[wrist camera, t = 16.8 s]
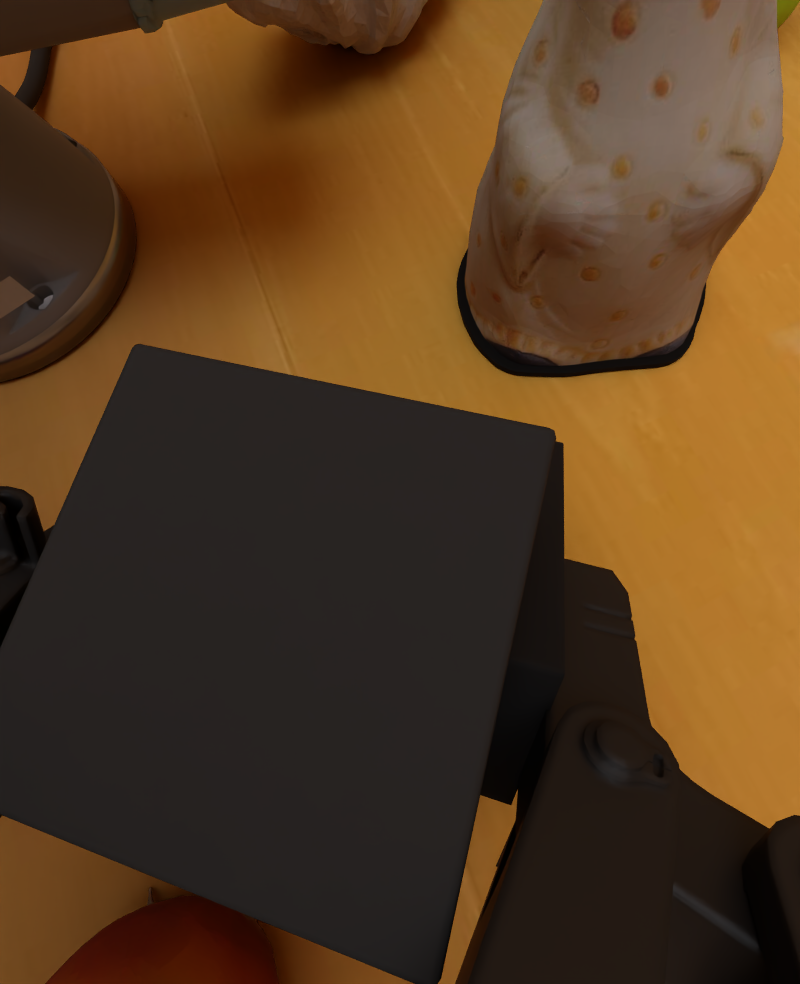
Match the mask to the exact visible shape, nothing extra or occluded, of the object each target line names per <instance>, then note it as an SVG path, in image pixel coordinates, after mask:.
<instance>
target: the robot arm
mask: <svg viewBox="0 0 800 984" xmlns="http://www.w3.org/2000/svg"><path fill="white" fill-rule="evenodd" d="M230 1H233V0H0V56H5V55H10V54H15V53H20V52H25V51H29V50H31V55H30V60H29V65H28V69H27V73H26V76H25V79H24V81H23V83H22V85H21V87H20V89H19V90H18V92H17V93H16V95H15V96H14V95H13V94H11V93H10V92H9V91H8V90H6V89H5V88H4V87H2V86H1V85H0V382H2V381H6V380H10V379H14V378H17V377H20V376H23V375H26V374H29V373H31V372H33V371H36V370H38V369H40V368H42V367H44V366H46V365H48V364H50V363H52V362H53V361H55V360H57V359H58V358H60V357H61V356H63V355H65V354H66V353H67V352H69V351H70V350H71V349H73V348H74V347H75V346H77V345H78V344H79V343H80V342H81V341H82V340H84V339H85V338H86V337H87V336H88V335H89V334H90V333H91V332H92V331H93V330H94V329H95V328H96V327H97V326H98V325H99V324H100V322H101V321H102V320H103V319H104V318H105V316H106V315H107V314H108V312H109V311H110V310H111V308H112V307H113V305H114V304H115V302H116V301H117V299H118V297H119V296H120V294H121V292H122V290H123V288H124V286H125V284H126V281H127V279H128V276H129V274H130V271H131V267H132V264H133V260H134V255H135V249H136V225H135V220H134V215H133V212H132V209H131V206H130V204H129V201H128V199H127V197H126V196H125V194H124V193H123V191H122V189H121V188H120V187H119V185H118V184H117V183H116V182H115V180H114V179H113V178H112V176H111V175H110V174H109V172H108V171H107V170H106V168H105V167H104V166H103V164H102V163H101V162H100V161H99V160H98V158H97V157H96V156H95V155H94V154H93V153H92V152H91V151H90V150H88V149H87V148H86V147H84V146H83V145H81V144H80V143H78V142H77V141H75V140H74V139H72V138H71V137H70V136H68V135H67V134H65V133H64V132H62V131H60V130H58V129H55V128H53V127H52V126H51V125H50V124H48V123H47V122H46V121H45V120H44V119H42V118H41V117H40V116H39V115H37V114H36V113H35V112H34V111H33V108H34V107H35V105H36V103H37V101H38V99H39V97H40V95H41V93H42V90H43V87H44V84H45V80H46V76H47V72H48V66H49V60H50V53H51V47H52V46H54V45H59V44H64V43H68V42H73V41H78V40H83V39H88V38H93V37H98V36H103V35H108V34H112V33H117V32H122V31H127V30H132V29H137V28H141V29H142V30H143V31H144V32H145V33H151V32H155V31H156V30H158V29H160V28H161V27H162V24H163V20H167V19H170V18H174V17H177V16H181V15H184V14H188V13H191V12H195V11H198V10H202V9H205V8H209V7H212V6H216V5H219V4H223V3H226V2H230ZM53 527H54V526H52V527H51V528H49V529H47V530H46V531H43V528H42V525H41V521H40V518H39V515H38V512H37V508H36V505H35V502H34V499H33V497H32V496H31V495H30V494H28V493H27V492H26V491H24V490H22V489H17V488H13V487H8V486H0V647H1V645H2V643H3V640H4V638H5V636H6V634H7V631H8V629H9V627H10V624H11V622H12V620H13V618H14V615H15V613H16V611H17V609H18V606H19V604H20V602H21V599H22V597H23V595H24V593H25V590H26V588H27V586H28V584H29V581H30V579H31V577H32V575H33V572H34V570H35V568H36V565H37V563H38V561H39V559H40V556H41V554H42V552H43V550H44V547H45V545H46V543H47V540H48V538H49V536H50V534H51V531H52V529H53ZM631 617H632V614H631V608H630V602H629V596H628V592H627V591H626V589H625V588H624V587H623V585H622V584H621V582H620V581H619V579H618V578H617V577H616V575H615V574H614V572H613V571H612V570H608V569H604V568H600V567H596V566H592V565H588V564H584V563H580V562H576V561H572V560H568V559H564V458H563V443H560V442H555V446H554V451H553V456H552V460H551V465H550V470H549V474H548V479H547V484H546V488H545V493H544V498H543V503H542V507H541V512H540V517H539V521H538V526H537V531H536V535H535V540H534V545H533V549H532V554H531V559H530V563H529V568H528V573H527V578H526V582H525V587H524V592H523V596H522V601H521V606H520V610H519V615H518V620H517V624H516V629H515V634H514V639H513V643H512V648H511V653H510V657H509V662H508V667H507V671H506V676H505V681H504V685H503V690H502V695H501V700H500V704H499V709H498V714H497V718H496V723H495V728H494V732H493V737H492V742H491V746H490V751H489V756H488V761H487V765H486V770H485V775H484V779H483V784H482V789H481V793H480V795H482V796H485V797H488V798H491V799H494V800H497V801H500V802H503V803H506V804H509V805H511V804H512V801H513V799H514V797H515V794H516V792H517V789H518V797H517V811H516V821H515V823H514V826H513V828H512V830H511V832H510V835H509V837H508V839H507V842H506V844H505V846H504V849H503V851H502V853H501V856H500V858H499V860H498V862H497V865H496V866H497V870H496V873H495V875H494V878H493V881H492V884H491V886H490V889H489V892H488V895H487V897H486V900H485V903H484V906H483V908H482V911H481V914H480V917H479V919H478V922H477V925H476V928H475V930H474V933H473V936H472V939H471V941H470V944H469V947H468V950H467V952H466V955H465V958H464V961H463V964H462V966H461V969H460V972H459V975H458V977H457V980H456V983H455V984H800V816H797V815H793V816H791V817H788V818H785V819H783V820H780V821H777V822H776V823H775V824H774V825H773V826H772V827H771V828H770V829H769V828H767V827H765V826H764V825H762V824H760V823H759V822H757V821H755V820H754V819H752V818H750V817H749V816H747V815H745V814H744V813H742V812H740V811H738V810H737V809H735V808H733V807H732V806H730V805H728V804H727V803H725V802H723V801H722V800H720V799H718V798H717V797H715V796H713V795H712V794H710V793H709V792H707V791H706V790H704V789H703V788H702V787H700V786H699V785H697V784H696V783H694V782H693V781H692V780H691V779H690V778H689V777H687V776H686V775H685V774H684V773H683V772H682V771H681V770H680V769H679V764H678V762H677V760H676V758H675V757H674V755H673V753H672V751H671V749H670V747H669V745H668V744H667V742H666V741H665V740H664V739H663V738H662V737H661V736H660V735H659V734H658V732H657V731H656V730H655V729H654V728H653V727H652V726H651V723H650V719H649V714H648V708H647V702H646V696H645V690H644V684H643V679H642V673H641V667H640V661H639V655H638V649H637V643H636V641H635V640H634V638H635V631H634V625H633V621H632V620H631ZM1 816H2V815H1V814H0V817H1Z"/></svg>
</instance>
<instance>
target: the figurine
mask: <svg viewBox="0 0 800 984" xmlns="http://www.w3.org/2000/svg"><path fill="white" fill-rule="evenodd" d="M782 114H783V87H782V79H781V66H780V55H779V45H778V32H777V0H543V3H542V5H541V7H540V10H539V12H538V15H537V17H536V19H535V21H534V23H533V25H532V27H531V29H530V32H529V34H528V36H527V38H526V41H525V43H524V45H523V47H522V50H521V52H520V54H519V57H518V59H517V61H516V64H515V67H514V70H513V73H512V75H511V78H510V81H509V85H508V88H507V91H506V94H505V97H504V100H503V104H502V109H501V114H500V119H499V125H498V131H497V137H496V144H495V147H494V149H493V151H492V153H491V156H490V159H489V161H488V164H487V166H486V169H485V172H484V174H483V177H482V179H481V182H480V184H479V187H478V189H477V194H476V200H475V205H474V211H473V217H472V222H471V228H470V234H469V244H468V249H467V251H466V253H465V255H464V257H463V259H462V262H461V265H460V268H459V272H458V278H457V295H458V304H459V308H460V312H461V315H462V319H463V322H464V325H465V327H466V329H467V331H468V333H469V335H470V337H471V339H472V341H473V342H474V344H475V346H476V347H477V348H478V349H479V351H480V352H481V353H482V354H483V355H484V356H485V357H486V358H487V359H488V360H489V361H490V362H491V363H492V364H493V365H495V366H496V367H497V368H499V369H501V370H503V371H505V372H507V373H510V374H514V375H519V376H542V377H566V376H577V375H584V374H591V373H599V372H607V371H618V370H631V369H645V368H656V367H662V366H666V365H669V364H671V363H673V362H676V361H677V360H678V359H680V358H681V357H682V356H683V355H684V353H685V352H686V351H687V349H688V348H689V347H690V345H691V342H692V340H693V337H694V333H695V328H696V326H697V323H698V321H699V318H700V315H701V311H702V308H703V305H704V299H705V289H706V280H707V278H708V275H709V273H710V270H711V268H712V265H713V263H714V262H715V260H716V258H717V256H718V254H719V252H720V251H721V250H722V248H723V247H724V245H725V244H726V243H727V241H728V240H729V239H730V238H731V237H732V235H733V234H734V233H735V232H736V231H737V229H738V228H739V226H740V225H741V224H742V222H743V221H744V220H745V218H746V217H747V216H748V215H749V214H750V212H751V211H752V208H753V206H754V205H755V204H756V202H757V201H758V199H759V198H760V196H761V195H762V193H763V191H764V190H765V187H766V184H767V182H768V180H769V178H770V176H771V174H772V172H773V170H774V167H775V164H776V161H777V158H778V155H779V152H780V149H781V147H782V143H783V136H782Z"/></svg>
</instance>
